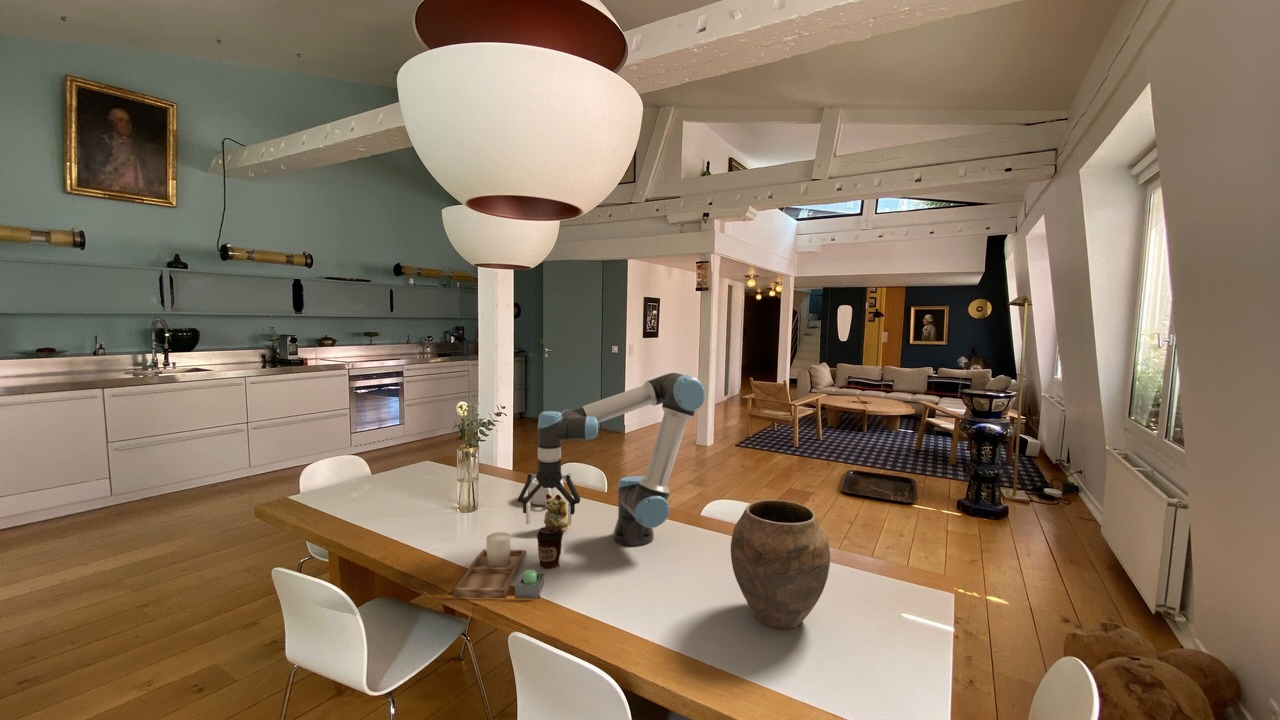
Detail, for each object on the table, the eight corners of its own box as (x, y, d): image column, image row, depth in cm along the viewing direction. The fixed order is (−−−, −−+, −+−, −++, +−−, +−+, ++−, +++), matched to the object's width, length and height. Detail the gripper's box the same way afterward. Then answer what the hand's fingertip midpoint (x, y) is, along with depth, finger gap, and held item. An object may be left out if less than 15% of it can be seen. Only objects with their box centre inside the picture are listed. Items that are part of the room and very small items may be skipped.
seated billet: (513, 558, 175) (512, 532, 174) (507, 568, 167) (506, 541, 167) (490, 558, 175) (490, 532, 174) (483, 568, 167) (483, 541, 167)
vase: (710, 616, 143) (712, 509, 141) (762, 583, 161) (764, 489, 159) (797, 660, 124) (800, 538, 122) (844, 617, 143) (848, 511, 141)
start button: (537, 585, 157) (537, 569, 156) (535, 592, 153) (535, 576, 152) (524, 585, 157) (524, 569, 156) (521, 592, 153) (521, 575, 152)
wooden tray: (526, 557, 178) (526, 550, 178) (505, 598, 151) (504, 590, 151) (482, 556, 178) (482, 549, 178) (453, 597, 151) (453, 589, 151)
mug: (525, 496, 241) (525, 475, 241) (561, 493, 246) (561, 472, 246) (530, 512, 221) (530, 489, 220) (569, 508, 226) (569, 486, 225)
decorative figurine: (540, 533, 199) (540, 495, 198) (549, 525, 207) (549, 488, 206) (564, 536, 196) (564, 497, 195) (572, 527, 204) (572, 490, 203)
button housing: (543, 586, 158) (543, 574, 158) (539, 598, 151) (539, 585, 151) (521, 586, 158) (520, 573, 158) (515, 598, 151) (515, 585, 151)
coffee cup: (557, 575, 166) (556, 535, 165) (532, 572, 167) (532, 533, 166) (566, 563, 174) (566, 525, 173) (543, 560, 176) (542, 523, 175)
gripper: (589, 457, 172) (588, 519, 173) (514, 455, 172) (513, 518, 173) (586, 463, 164) (585, 528, 166) (508, 461, 165) (507, 526, 166)
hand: (548, 523), depth 170 cm, fingers open, 13 cm apart
